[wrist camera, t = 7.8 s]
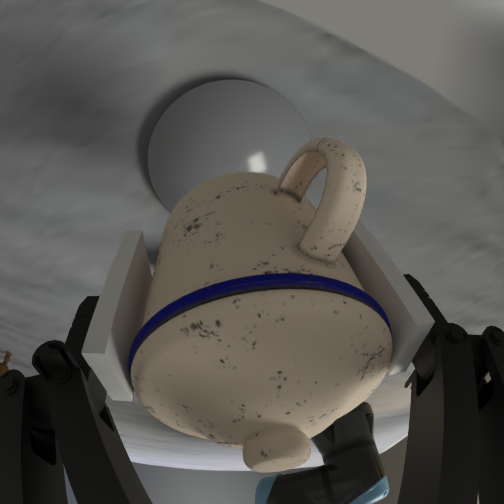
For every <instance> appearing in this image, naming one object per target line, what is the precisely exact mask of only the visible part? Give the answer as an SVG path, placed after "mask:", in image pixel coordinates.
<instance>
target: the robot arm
mask: <svg viewBox="0 0 504 504" xmlns="http://www.w3.org/2000/svg"><path fill="white" fill-rule="evenodd" d="M341 251H342V253H343V254H344V256H345V258H346V259H347V261H348V263H349V265H350V266H351V268H352V270H353V271H354V273H355V275H356V277H357V278H358V280H359V282H360V284H361V285H362V287H363V289H364V291H365V292H366V293H367V294H369V295H370V296H371V297H372V298H373V299H375V300H376V301H377V302H378V304H379V305H380V306H381V307H382V308H383V310H384V312H385V313H386V315H387V317H388V320H389V323H390V326H391V332H392V355H391V361H390V364H389V367H388V370H387V371H388V374H389V375H392V374H396V373H400V372H404V371H406V370H407V368H408V367H409V365H410V363H411V362H412V363H413V364H414V366H415V370H414V371H413V373H412V374H411V376H410V377H409V379H408V380H407V382H406V383H405V387H404V388H407V387H408V386H409V384H410V383H411V381H412V386H411V407H410V420H409V431H408V441H407V450H406V457H405V464H404V471H403V477H402V482H401V488H400V493H399V498H398V503H397V504H477V495H478V494H479V503H480V504H504V332H503V331H502V330H501V329H500V328H498V327H496V326H489V327H487V328H486V329H485V330H484V332H483V333H482V335H469V334H467V332H466V331H465V330H464V329H463V328H462V327H460V326H459V325H457V324H454V323H448V322H447V321H446V319H445V318H444V316H443V315H442V313H441V312H440V311H439V309H438V308H437V306H436V305H435V303H434V302H433V301H432V299H430V296H429V295H428V294H427V292H425V289H424V288H423V287H422V285H421V284H420V283H419V281H417V280H416V279H415V278H414V277H412V276H411V275H410V274H404V275H403V274H402V273H401V272H400V270H399V269H398V268H397V266H396V265H395V264H394V262H393V261H392V260H391V258H390V257H389V256H388V254H387V253H386V252H385V250H384V249H383V248H382V246H381V245H380V244H379V243H378V241H377V240H376V239H375V238H374V236H373V235H372V234H371V233H370V231H369V230H368V229H367V228H366V226H365V225H364V224H363V223H362V221H361V220H358V222H357V224H356V226H355V228H354V230H353V232H352V234H351V236H350V237H349V239H348V241H347V242H346V244H345V246H344V247H343V249H342V250H341ZM151 281H152V275H151V270H150V266H149V261H148V257H147V252H146V247H145V242H144V237H143V232H142V230H139V231H126V232H125V235H124V237H123V239H122V242H121V244H120V246H119V249H118V251H117V253H116V256H115V258H114V261H113V263H112V266H111V268H110V271H109V273H108V276H107V278H106V281H105V284H104V286H103V289H102V292H101V294H100V296H87V298H86V299H85V300H84V301H83V302H82V303H81V304H80V305H79V308H78V310H77V313H76V315H75V318H74V320H73V323H72V327H71V328H70V331H69V334H68V337H67V339H66V342H65V344H64V343H63V342H61V341H57V340H52V341H47V342H46V343H44V344H42V345H40V346H39V347H38V349H37V350H36V351H35V353H34V355H33V357H32V365H33V366H34V367H35V369H36V370H37V371H38V373H39V374H40V375H36V376H31V377H25V376H24V375H23V374H22V373H21V372H20V371H18V370H14V369H12V370H8V371H6V372H5V373H3V374H2V375H1V376H0V504H68V501H67V494H66V486H65V477H64V467H65V470H66V473H67V475H68V479H69V482H70V484H71V487H72V490H73V492H74V495H75V498H76V500H77V503H78V504H152V502H151V500H150V498H149V497H148V495H147V493H146V491H145V489H144V487H143V485H142V483H141V481H140V479H139V478H138V475H137V473H136V471H135V469H134V467H133V465H132V463H131V461H130V459H129V456H128V454H127V452H126V450H125V448H124V445H123V443H122V441H121V438H120V436H119V433H118V431H117V429H116V426H115V423H114V421H113V418H112V416H111V413H110V410H109V408H108V406H107V405H106V403H105V399H106V394H108V395H109V397H110V398H111V399H112V400H115V401H132V400H133V392H134V388H133V385H132V380H131V376H130V373H129V365H128V364H129V354H130V349H131V346H132V344H133V341H134V339H135V337H136V335H137V334H138V332H139V331H140V329H141V328H142V324H143V319H144V314H145V309H146V304H147V300H148V295H149V290H150V286H151ZM488 373H489V374H490V377H491V380H490V381H489V382H488V383H487V382H486V380H485V377H486V376H487V375H488ZM373 427H374V415H373V411H372V408H371V406H370V405H369V404H368V403H361V404H359V405H358V406H357V407H355V408H354V409H353V410H351V411H350V412H348V413H347V414H345V415H343V416H342V417H340V418H338V419H336V420H335V421H334V422H333V423H332V424H331V425H330V426H328V427H327V428H326V429H325V430H323V431H322V432H320V433H319V434H317V435H315V436H314V437H311V438H310V439H311V440H312V442H313V443H314V445H315V446H316V447H317V449H318V450H319V452H320V453H321V455H322V458H323V462H324V465H322V466H318V467H314V468H309V469H305V470H300V471H295V472H289V473H283V474H281V473H279V474H277V475H274V476H269V477H264V478H262V479H261V480H260V481H259V482H258V484H257V487H256V493H255V504H372V503H374V502H376V501H378V500H380V499H382V498H384V497H385V496H386V495H387V494H388V492H389V486H388V482H387V475H386V474H385V471H384V468H383V465H382V462H381V459H380V456H379V453H378V450H377V447H376V444H375V441H374V438H373ZM63 464H64V467H63Z"/></svg>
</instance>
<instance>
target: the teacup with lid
mask: <svg viewBox="0 0 504 504" xmlns="http://www.w3.org/2000/svg"><path fill="white" fill-rule="evenodd" d="M325 168H327V175H326V182H325V188H324V192H323V195H322V198H321V201H320V204H319V206H318V208H317V211H316V209H315V207H314V206H313V204H312V203H311V202H310V200H309V199H308V198H307V197H306V196H305V193H306V192H307V190H308V188H309V187H310V185H311V183H312V182H313V180H314V179H315V178H316V176H317V175H318V174H319V173H320V172H321V171H322V170H324V169H325ZM365 193H366V170H365V166H364V163H363V161H362V159H361V157H360V156H359V154H358V153H357V152H356V151H355V150H354V149H353V148H351V147H350V146H348V145H346V144H344V143H342V142H340V141H338V140H335V139H332V138H326V137H325V138H318V139H314V140H312V141H310V142H308V143H307V144H305V145H304V146H303V147H301V148H300V149H299V150H298V151H297V152H296V153H295V154H294V156H293V157H292V158H291V159H290V161H289V162H288V164H287V166H286V167H285V169H284V171H283V172H282V174H281V176H280V178H278V177H275V176H272V175H268V174H263V173H257V172H235V173H229V174H224V175H221V176H217V177H214V178H212V179H209V180H207V181H205V182H203V183H201V184H199V185H198V186H196V187H195V188H193V189H192V190H191V191H190V192H188V193H187V194H186V195H185V196H184V197H183V198H182V199H181V200H180V201H179V202H178V204H177V205H176V206H175V208H174V209H173V211H172V212H171V214H170V216H169V218H168V220H167V223H166V226H165V229H164V232H163V236H162V240H161V244H160V248H159V252H158V256H157V260H156V264H155V268H154V273H153V277H152V281H151V286H150V290H149V295H148V300H147V304H146V309H145V314H144V319H143V324H142V328H141V329H140V331H139V332H138V334H137V335H136V337H135V339H134V341H133V344H132V346H131V349H130V354H129V364H128V365H129V373H130V376H131V380H132V385H133V388H134V391H135V393H136V395H137V397H138V398H139V400H140V402H141V403H142V405H143V406H144V407H145V408H146V409H147V410H148V412H149V413H150V414H152V415H153V416H154V417H155V418H156V419H158V420H159V421H161V422H162V423H164V424H166V425H167V426H169V427H171V428H173V429H175V430H177V431H180V432H183V433H185V434H188V435H192V436H195V437H199V438H204V439H209V440H212V441H214V442H216V443H218V444H221V445H224V446H227V447H231V448H236V449H243V450H242V451H243V460H244V462H245V464H246V465H247V466H248V467H249V468H250V469H251V470H253V471H257V472H278V471H284V470H288V469H292V468H295V467H298V466H300V465H302V464H304V463H305V462H306V461H307V460H308V459H309V457H310V454H311V446H310V441H309V438H311V437H314V436H315V435H317V434H319V433H320V432H322V431H323V430H325V429H326V428H327V427H328V426H330V425H331V424H332V423H333V422H334V421H335V420H336V419H338V418H340V417H342V416H343V415H345V414H347V413H348V412H350V411H351V410H353V409H354V408H355V407H357V406H358V405H359V404H361V403H362V402H363V401H364V400H365V399H366V398H368V397H369V396H370V395H371V393H372V392H373V391H374V390H375V389H376V388H377V386H378V385H379V384H380V382H381V381H382V379H383V378H384V376H385V374H386V372H387V370H388V367H389V364H390V361H391V355H392V332H391V326H390V323H389V320H388V317H387V315H386V313H385V312H384V310H383V308H382V307H381V306H380V305H379V304H378V302H377V301H376V300H375V299H373V298H372V297H371V296H370V295H369V294H367V293H366V292H365V291H364V289H363V287H362V285H361V284H360V282H359V280H358V278H357V277H356V275H355V273H354V271H353V270H352V268H351V266H350V265H349V263H348V261H347V259H346V258H345V256H344V254H343V253H342V251H341V250H342V249H343V247H344V246H345V244H346V242H347V241H348V239H349V237H350V236H351V234H352V232H353V230H354V228H355V226H356V224H357V222H358V219H359V217H360V214H361V211H362V208H363V204H364V199H365Z"/></svg>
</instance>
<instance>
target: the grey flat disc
mask: <svg viewBox="0 0 504 504" xmlns="http://www.w3.org/2000/svg"><path fill="white" fill-rule="evenodd" d="M310 141H311V137H310V134H309V131H308V128H307V126H306V124H305V121H304V120H303V118H302V117H301V115H300V113H299V112H298V111H297V110H296V108H295V107H294V106H293V105H292V104H291V103H290V102H289V101H288V100H287V99H286V98H285V97H283V96H282V95H280V94H279V93H277V92H276V91H274V90H272V89H270V88H268V87H266V86H264V85H261V84H258V83H255V82H251V81H246V80H238V79H225V80H217V81H212V82H208V83H205V84H202V85H200V86H197V87H195V88H193V89H191V90H189V91H188V92H186V93H184V94H183V95H182V96H180V97H179V98H178V99H176V100H175V101H174V102H173V103H172V104H171V105H170V106H169V107H168V108H167V109H166V111H165V112H164V113H163V114H162V116H161V117H160V119H159V120H158V122H157V124H156V126H155V128H154V130H153V133H152V135H151V139H150V143H149V147H148V157H147V159H148V171H149V176H150V180H151V183H152V186H153V188H154V190H155V192H156V194H157V196H158V198H159V199H160V201H161V202H162V204H163V205H164V206H165V207H166V208H167V209H168V210H169V212H172V211H173V209H174V208H175V206H176V205H177V204H178V202H179V201H180V200H181V199H182V198H183V197H184V196H185V195H186V194H187V193H188V192H190V191H191V190H192V189H193V188H195V187H196V186H198V185H199V184H201V183H203V182H205V181H207V180H209V179H212V178H214V177H217V176H221V175H224V174H229V173H235V172H257V173H263V174H268V175H272V176H275V177H278V178H280V176H281V174H282V172H283V171H284V169H285V167H286V166H287V164H288V162H289V161H290V159H291V158H292V157H293V156H294V154H295V153H296V152H297V151H298V150H299V149H300V148H301V147H303V146H304V145H305V144H307V143H308V142H310Z"/></svg>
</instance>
